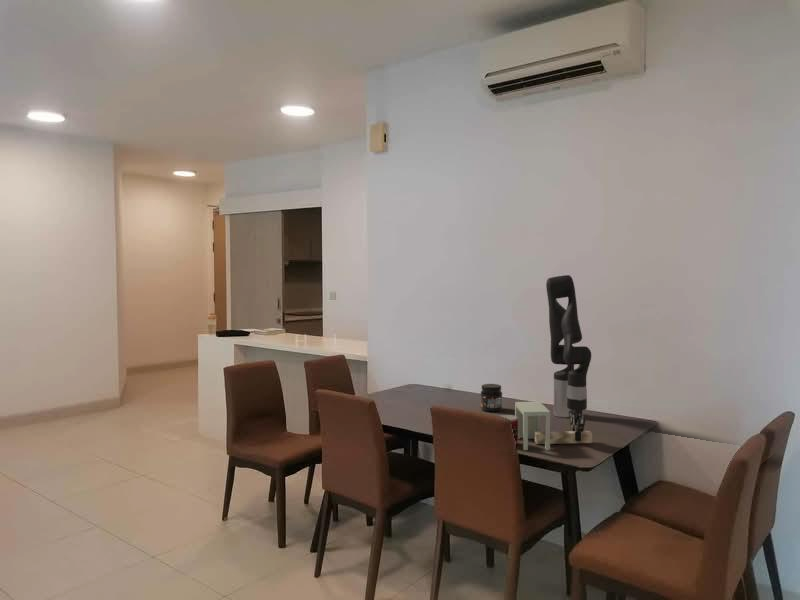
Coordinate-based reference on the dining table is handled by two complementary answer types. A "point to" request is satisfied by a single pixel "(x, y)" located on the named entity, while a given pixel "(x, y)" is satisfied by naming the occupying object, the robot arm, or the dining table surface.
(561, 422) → the dining table surface
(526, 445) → the stand
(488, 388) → the supplement container
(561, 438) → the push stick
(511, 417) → the canned food
